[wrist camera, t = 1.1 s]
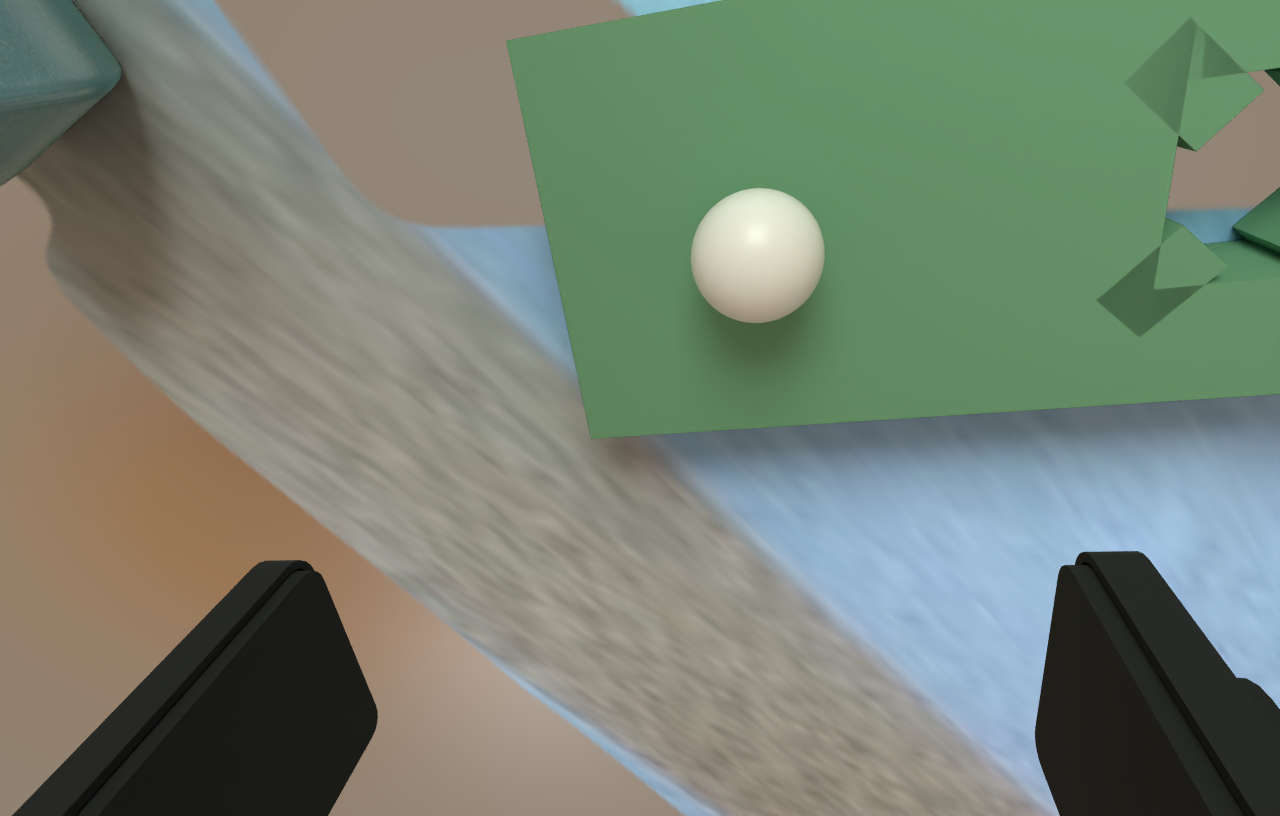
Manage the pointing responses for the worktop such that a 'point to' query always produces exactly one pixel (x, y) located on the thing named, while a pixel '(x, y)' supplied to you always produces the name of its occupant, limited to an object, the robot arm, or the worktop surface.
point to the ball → (757, 255)
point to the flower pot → (46, 77)
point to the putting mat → (904, 206)
